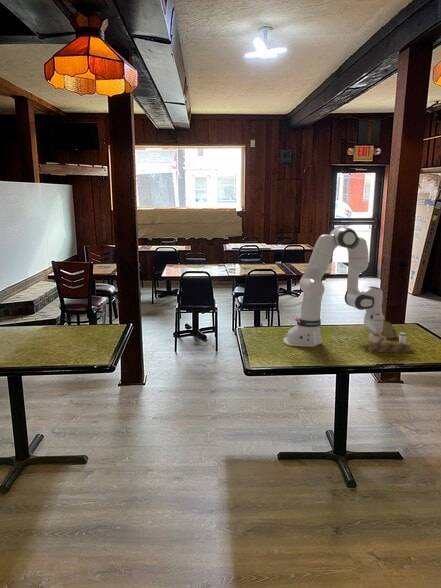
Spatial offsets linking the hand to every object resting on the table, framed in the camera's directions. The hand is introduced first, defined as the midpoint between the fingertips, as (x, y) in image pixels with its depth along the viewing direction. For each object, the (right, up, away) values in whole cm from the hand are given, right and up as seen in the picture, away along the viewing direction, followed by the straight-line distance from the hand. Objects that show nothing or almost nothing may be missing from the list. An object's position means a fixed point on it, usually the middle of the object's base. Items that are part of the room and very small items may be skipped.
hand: (372, 336), depth 258 cm
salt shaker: (+12, -5, -13) cm, 19 cm away
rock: (+12, -1, +5) cm, 13 cm away
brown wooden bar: (+3, -6, -19) cm, 21 cm away
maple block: (0, -4, -7) cm, 8 cm away
